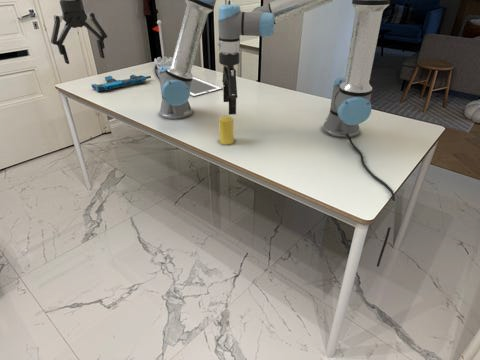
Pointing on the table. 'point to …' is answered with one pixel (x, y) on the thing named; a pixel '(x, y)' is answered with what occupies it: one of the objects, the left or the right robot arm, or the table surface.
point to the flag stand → (164, 60)
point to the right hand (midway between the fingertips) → (229, 107)
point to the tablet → (201, 87)
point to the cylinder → (226, 130)
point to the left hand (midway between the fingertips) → (85, 60)
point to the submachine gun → (119, 82)
